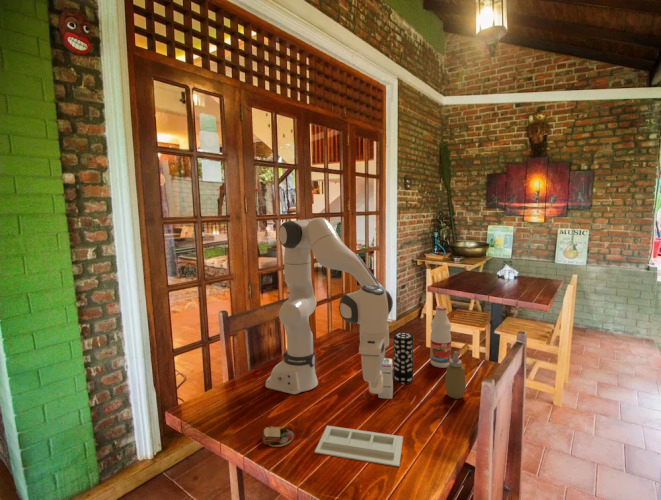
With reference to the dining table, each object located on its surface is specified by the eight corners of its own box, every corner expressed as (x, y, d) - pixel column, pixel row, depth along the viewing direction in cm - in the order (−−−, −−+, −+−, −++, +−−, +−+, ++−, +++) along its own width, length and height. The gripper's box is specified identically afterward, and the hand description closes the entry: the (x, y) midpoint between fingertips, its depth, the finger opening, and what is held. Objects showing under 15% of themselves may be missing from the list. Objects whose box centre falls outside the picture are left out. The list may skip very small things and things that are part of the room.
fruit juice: (447, 359, 179) (448, 304, 175) (453, 368, 169) (454, 309, 166) (428, 359, 179) (428, 304, 176) (432, 368, 170) (433, 309, 167)
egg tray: (314, 452, 113) (314, 446, 113) (327, 426, 126) (327, 421, 126) (399, 466, 106) (399, 460, 106) (403, 437, 119) (403, 431, 119)
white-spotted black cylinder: (393, 383, 156) (392, 338, 154) (394, 374, 164) (394, 331, 162) (412, 384, 154) (413, 339, 152) (413, 376, 162) (413, 332, 160)
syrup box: (392, 399, 143) (392, 364, 142) (377, 398, 144) (377, 363, 143) (393, 392, 149) (392, 358, 147) (378, 390, 150) (378, 357, 148)
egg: (367, 392, 111) (367, 371, 110) (370, 386, 115) (369, 364, 114) (382, 394, 110) (381, 372, 109) (384, 387, 114) (383, 366, 113)
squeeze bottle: (447, 388, 151) (447, 346, 149) (467, 393, 146) (468, 350, 144) (442, 397, 144) (442, 353, 142) (463, 402, 140) (464, 357, 138)
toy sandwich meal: (292, 448, 116) (291, 438, 115) (260, 449, 116) (259, 439, 115) (294, 430, 125) (294, 420, 125) (264, 431, 125) (264, 421, 125)
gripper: (370, 327, 121) (371, 367, 123) (357, 350, 102) (359, 397, 103) (389, 328, 120) (390, 368, 121) (380, 352, 100) (381, 399, 102)
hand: (375, 382), depth 112 cm, fingers closed on egg, 4 cm apart
